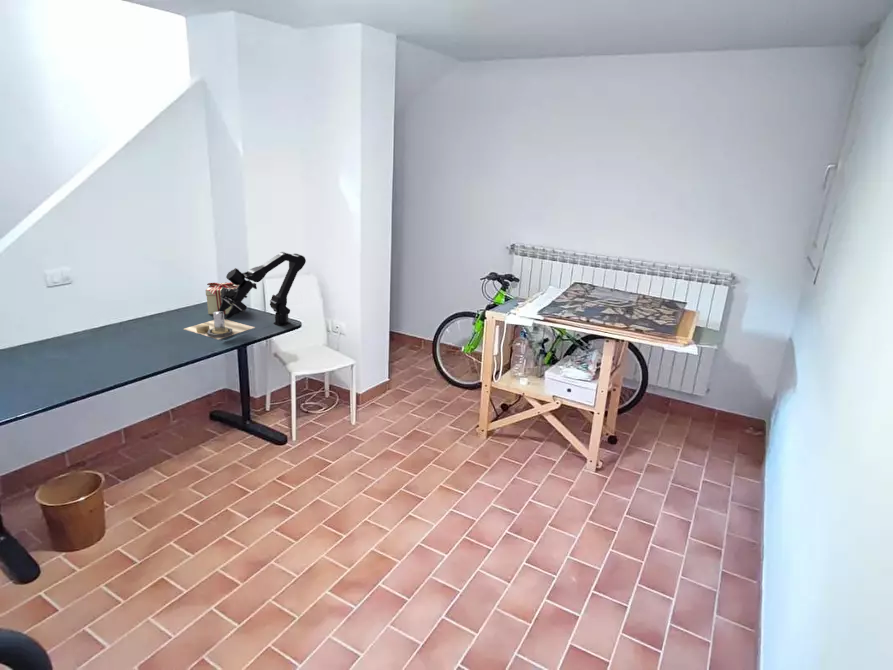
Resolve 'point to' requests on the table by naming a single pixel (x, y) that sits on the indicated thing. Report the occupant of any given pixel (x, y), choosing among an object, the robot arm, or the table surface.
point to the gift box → (217, 296)
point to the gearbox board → (208, 326)
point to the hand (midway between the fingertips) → (222, 315)
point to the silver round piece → (219, 323)
